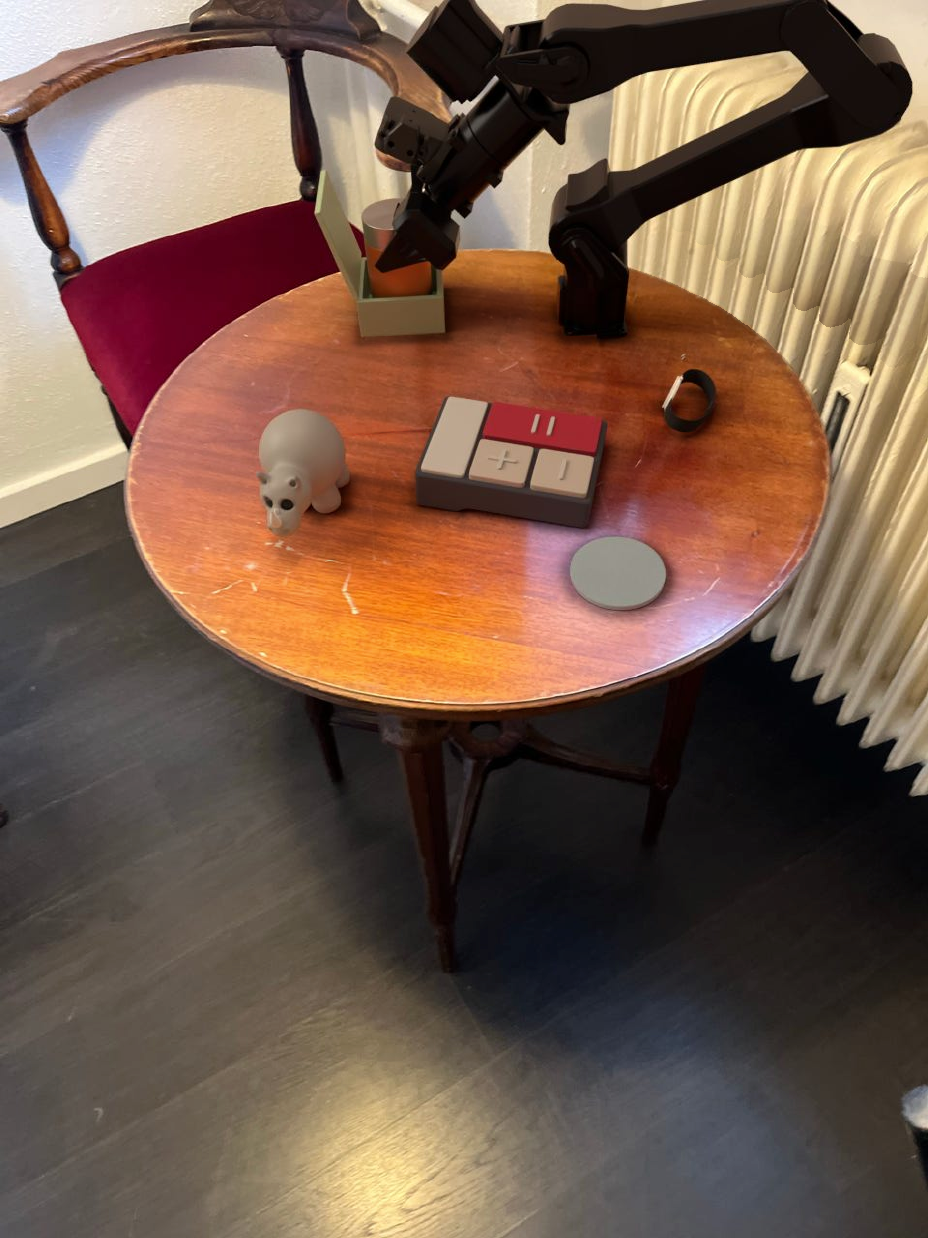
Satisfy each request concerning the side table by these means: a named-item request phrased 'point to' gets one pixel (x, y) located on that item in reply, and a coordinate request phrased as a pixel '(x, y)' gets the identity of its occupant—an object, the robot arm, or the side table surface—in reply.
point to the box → (400, 309)
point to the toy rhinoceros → (300, 468)
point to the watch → (687, 377)
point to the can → (375, 239)
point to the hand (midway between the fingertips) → (384, 251)
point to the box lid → (338, 233)
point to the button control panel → (511, 461)
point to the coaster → (618, 573)
